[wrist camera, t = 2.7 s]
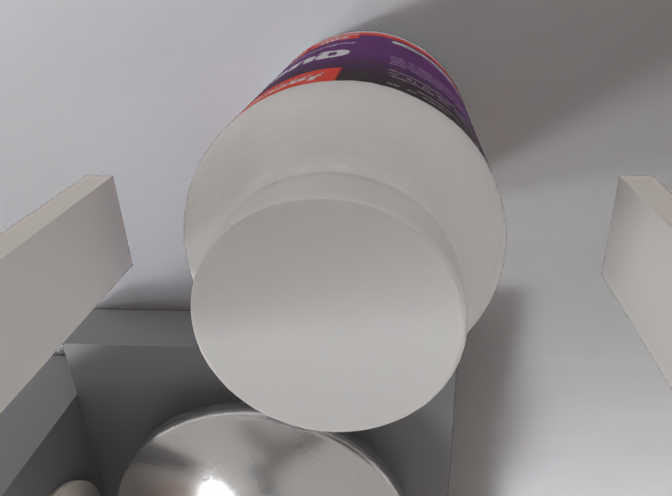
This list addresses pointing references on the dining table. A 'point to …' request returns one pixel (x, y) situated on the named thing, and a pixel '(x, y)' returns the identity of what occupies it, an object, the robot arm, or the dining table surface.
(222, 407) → the scale pan
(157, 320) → the dial scale
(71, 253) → the robot arm
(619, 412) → the dining table surface
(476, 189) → the pill bottle
